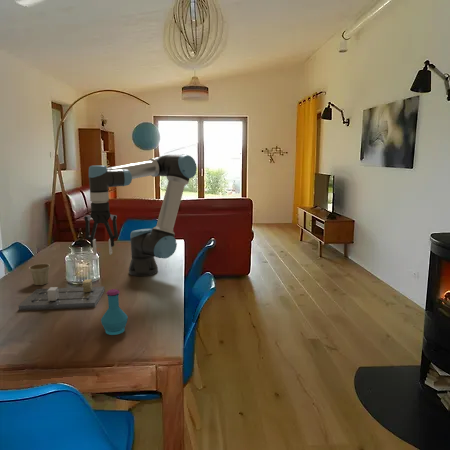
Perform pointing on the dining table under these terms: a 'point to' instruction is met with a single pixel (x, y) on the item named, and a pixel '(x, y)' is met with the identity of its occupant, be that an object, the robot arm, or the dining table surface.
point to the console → (63, 299)
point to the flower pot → (40, 273)
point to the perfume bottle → (114, 315)
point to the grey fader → (53, 294)
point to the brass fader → (87, 285)
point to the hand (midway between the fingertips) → (103, 253)
